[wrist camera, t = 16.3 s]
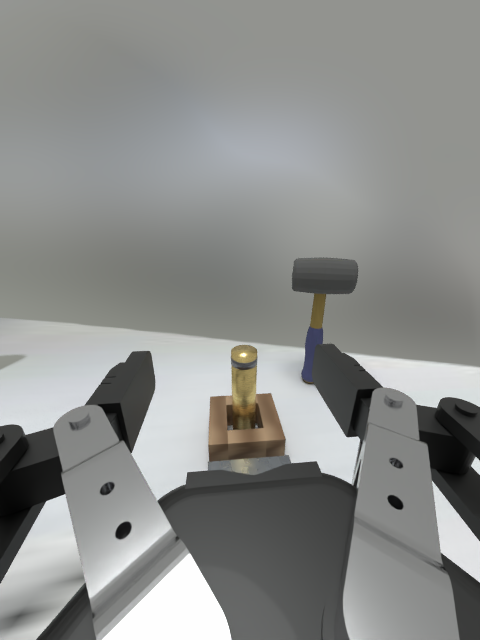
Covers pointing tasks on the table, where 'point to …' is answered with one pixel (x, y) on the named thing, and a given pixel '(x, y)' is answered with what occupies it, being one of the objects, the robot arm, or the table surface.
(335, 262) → the rubber mallet
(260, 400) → the block
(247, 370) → the brass peg
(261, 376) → the table surface
